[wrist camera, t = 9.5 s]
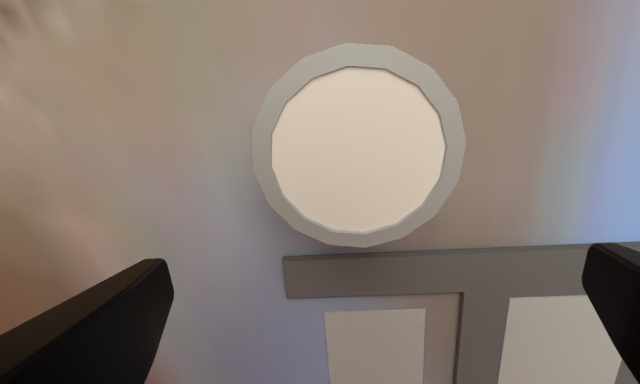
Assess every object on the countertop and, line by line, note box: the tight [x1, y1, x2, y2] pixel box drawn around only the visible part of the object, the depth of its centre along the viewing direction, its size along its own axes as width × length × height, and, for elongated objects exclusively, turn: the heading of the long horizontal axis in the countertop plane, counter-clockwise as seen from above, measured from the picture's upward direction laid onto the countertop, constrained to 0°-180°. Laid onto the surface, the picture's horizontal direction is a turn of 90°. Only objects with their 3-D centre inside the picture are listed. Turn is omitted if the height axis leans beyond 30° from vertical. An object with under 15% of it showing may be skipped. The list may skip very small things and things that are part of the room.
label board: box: [282, 242, 640, 384], centre depth 25 cm, size 22×15×1 cm
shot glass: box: [252, 43, 467, 248], centre depth 16 cm, size 7×7×7 cm
